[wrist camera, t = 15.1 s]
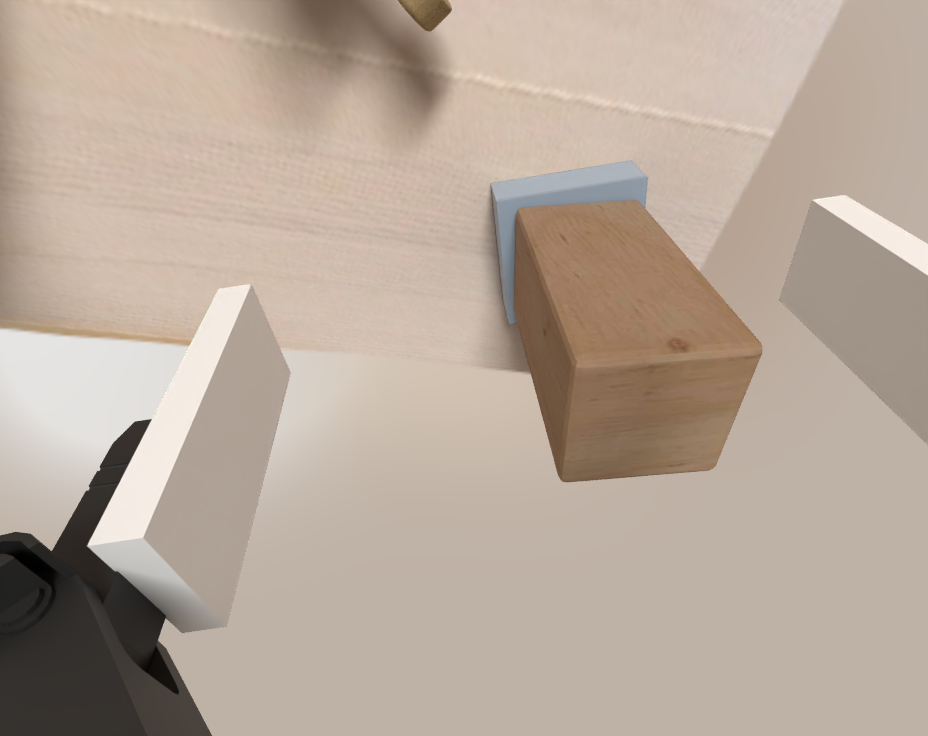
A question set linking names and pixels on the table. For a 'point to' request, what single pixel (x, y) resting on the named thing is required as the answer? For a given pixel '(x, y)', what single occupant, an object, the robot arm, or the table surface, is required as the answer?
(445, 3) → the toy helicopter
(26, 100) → the table surface
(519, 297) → the wooden block
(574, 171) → the base brick
